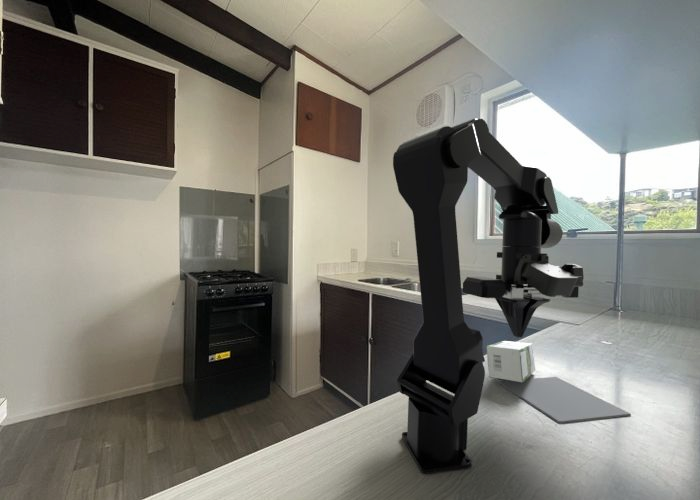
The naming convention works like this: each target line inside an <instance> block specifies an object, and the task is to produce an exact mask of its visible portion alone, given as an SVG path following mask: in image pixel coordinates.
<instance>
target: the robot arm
mask: <svg viewBox="0 0 700 500" xmlns="http://www.w3.org/2000/svg"><path fill="white" fill-rule="evenodd" d="M392 167H393V172H394V176H395V177H394V178H395V181H396V186H397V189H398V193H399V195H400V196H401V197H402V199H403V200H404V202H405V203H406V204H407V206H408V207H409V209H410V210H411V212H412V216H413V218H412V219H413V226H414V227H413V228H414V237H415V238H414V239H415V247H416V257H417V258H416V259H417V269H418V278H419V279H418V280H419V291H420V300H421V309H422V312H421V313H422V324H420V326H419V329H418V331H417V333H416V334H415V336H414V337H413V349H412V350H413V353H412V355H411V356H410V357H409V359H408V361H407V363H406V364H405V366H404V368H403V369H402V371H401V372H400V374H399V376H398V378H397V379H396V382H397V387H398V391H399V393H400V394H401V395H405V396H407V397H408V398H407V399H408V400H407V401H408V403H407V404H408V405H407V427H406V430H407V431H403V432H402V433H401V438H402V440H403V442H404V443H405V446H406V447H407V449H408V451H409V453H410V455H412V458H413V459H414V461H415V463H416V465H417V467H418V468H419V471H420V472H422V473H423V474H431V473H438V472H444V471H452V470H460V469H467V468H468V469H469V468H471V467H472V465H473V461H472V459H471V458H470V456H469V455H468V454H467V453H466V452H465V451H467V447H468V444H467V443H468V426H469V425H468V424H469V422H468V421H469V419H470V418H472V417H474V416H475V415H476V414H478V411H479V405H480V401H481V397H482V392H483V387H484V384H485V383H484V382H485V378H486V370H485V366H484V363H485V362H486V360H485V356H484V352H483V351H484V350H483V349H484V348H483V345H484V344H483V341H484V340H483V338H484V337H483V336H482V333H481V332H480V331H481V330H477V329H473V328H471V327H469V326H468V325H467V323H466V321H465V318H464V306H463V305H464V304H463V293H464V294H467V295H472V296H476V297H479V298H481V299H482V298H484V299H495V301H496V303H497V304H498V306H499V307H500V309H501V311H502V313H503V315H504V317H505V320H506V322H507V324H508V326H509V328H510V331H511V333H512V335H513V336H514V337H515V338H522V337H523V336H524V335H525V332H526V329H527V327H528V326H529V324H530V321H531V319H532V317H533V315H534V313H535V311H536V310H537V309H539V307H540V306H542V305H545V304H546V303H547V304H548V303H549V302H551V299H550V298H544V296H546V297H552V298H554V297H556V296H561V297H562V298H568V299H569V298H579V290H580V288H579V287H583V285H584V277H585V276H584V268H583V267H582V266H581V265H578V264H576V263H565V264H563V265H562V266H561V265H552V264H550V262H549V261H550V260H549V259H550V258H549V255H548V253H542V249H550V248H553V247H555V246H556V245H558V244H559V243H560V242H561V240H562V239H563V231H564V230H563V229H562V225H560V223H558V222H557V221H555V220H554V219H551V218H552V215H558V214H559V208H558V203H557V200H556V199H557V198H556V194H555V190H554V186H553V182H552V179H551V178H550V177H549V176H548V175H547V173H546V172H544V171H543V170H541V169H539V168H538V167H536V166H532V165H531V166H529V165H524V164H521V163H520V162H519V160H517V159H516V158H515V157H514V156H513V155H512V154H511V152H510V151H508V149H506V148H505V147H504V146H503V145H502V144H501V143H500V141H498V139H497V138H496V137H494V136H493V134H492V133H491V132H490V129H489V126H488V123H487V121H485V119H483V118H472V119H469V120H466V121H464V122H461V123H459V124H456V125H453V126H452V127H451V126H449V125H446V126H441V127H440V128H437V129H435V130H432V131H429V132H427V133H424V134H422V135H420V136H416V137H415V138H412V139H409V140H407V141H405V142H403V143H401V144H400V145H398V147H397V149H396V151H394V153H393V157H392ZM468 169H469V170H471V171H472V172H473V173H475V174H476V176H478V177H479V178H481V179H482V180H483V181H485V182H486V184H488V185H490V187H492V188H493V190H494V196H493V199H494V200H495V201H496V202H497V203H498V204H499V206H500V208H501V213H499V215H498V218H499V219H500V220H502V241H501V242H502V244H501V245H502V246H501V248H502V249H501V251H497V252H496V258H497V259H499V258H500V259H501V269H500V270H501V273H500V274H495V278H491V277H486V276H466V278H465V279H464V280H463V281H462V278H461V270H460V269H461V267H460V256H459V255H460V254H459V252H460V251H459V241H458V229H457V227H458V226H457V215H456V214H457V213H456V206H457V203H458V202H459V199H460V198H461V195H462V194H463V192H464V190H465V188H466V185H467V183H468V181H469V179H468V177H469V176H468V171H469V170H468ZM427 381H428V382H427ZM433 384H434V385H433ZM435 385H436V386H435ZM445 390H446V391H447V392H446V391H445ZM453 394H454V395H453Z"/></svg>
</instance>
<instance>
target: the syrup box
mask: <svg viewBox="0 0 700 500" xmlns="http://www.w3.org/2000/svg"><path fill="white" fill-rule="evenodd" d="M486 359H487V369H488V377H490V378H494V379H500V380H511V381H517V382H524V381H525V380H526V379H529V378H530V377H531V376H532V374H533V373H535V371H536V364H535V362H536V361H535V354H534V347H533V343H532V342H523V341H509V340H503V341H502V340H501V341H498V342H496V343H492V344H488V345H487V346H486Z"/></svg>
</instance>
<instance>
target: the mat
mask: <svg viewBox="0 0 700 500" xmlns="http://www.w3.org/2000/svg"><path fill="white" fill-rule="evenodd" d="M496 382H497V383H498V384H499V385H501V386H502V387H503V388H505V389H507V390H508V391H509V392H511V393H512V394H514V395H516V396H517V397H519V398H520V399H522V400H523V401H525V402H526V403H528V404H529V405H531V406H532V407H534V408H536V409H537V410H538V411H539V412H542V413H543V414H544V415H545V416H547V417H549V418H551V419H552V420H554V422H556V423H558V424H565V423H575V422H576V423H577V422H583V421H584V422H585V421H594V420H603V419H610V418H620V417H628V416H629V417H630V416H631V415H632V414H631V412H628V411H626V410H624V409H622V408H621V407H618V406H616V405H614V404H613V403H610V402H608V401H606V400H604V399H602V398H600V397H598V396H596V395H594V394H591V393H589V392H588V391H585V390H584V389H581V388H579V387H578V386H575V385H574V384H572V383H570V382H567V381H566V380H563V379H561V378H559V377H557V376H550V377H534V378H533V377H532V378H527V379H526V380H525V381H524V382H517V381H511V380H505V379H501V380H497V381H496Z"/></svg>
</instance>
